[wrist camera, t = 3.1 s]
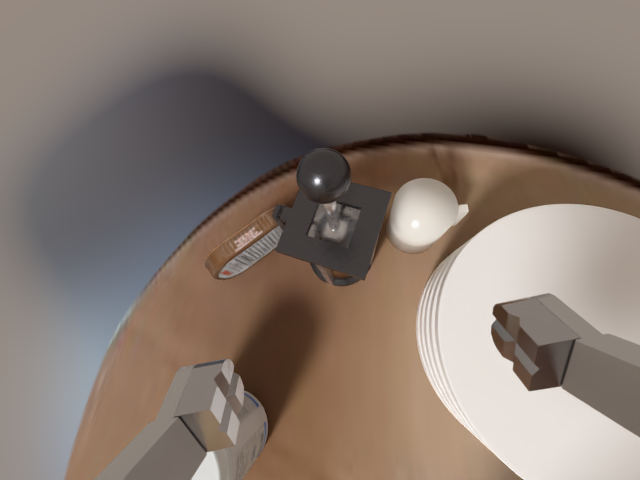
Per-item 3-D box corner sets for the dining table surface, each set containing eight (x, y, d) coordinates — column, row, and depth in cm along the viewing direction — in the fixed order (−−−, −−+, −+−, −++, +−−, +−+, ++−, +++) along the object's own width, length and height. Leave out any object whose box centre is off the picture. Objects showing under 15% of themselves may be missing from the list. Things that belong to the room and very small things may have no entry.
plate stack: (470, 203, 44) (508, 162, 33) (682, 303, 37) (819, 293, 26) (378, 368, 39) (386, 385, 28) (602, 521, 32) (730, 623, 21)
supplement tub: (191, 412, 40) (102, 458, 26) (249, 373, 41) (193, 397, 27) (221, 485, 37) (139, 581, 23) (283, 442, 38) (240, 510, 24)
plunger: (373, 208, 32) (385, 130, 19) (355, 265, 30) (354, 221, 18) (316, 193, 33) (291, 110, 21) (296, 247, 32) (255, 193, 19)
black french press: (380, 234, 44) (391, 192, 30) (362, 294, 42) (364, 279, 28) (306, 213, 46) (284, 165, 33) (284, 269, 44) (252, 242, 30)
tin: (296, 215, 47) (283, 192, 39) (307, 229, 46) (297, 209, 38) (219, 271, 46) (190, 259, 38) (229, 287, 45) (202, 278, 37)
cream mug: (388, 254, 43) (396, 236, 34) (384, 207, 45) (390, 180, 37) (453, 252, 42) (478, 233, 33) (446, 204, 44) (467, 174, 36)
